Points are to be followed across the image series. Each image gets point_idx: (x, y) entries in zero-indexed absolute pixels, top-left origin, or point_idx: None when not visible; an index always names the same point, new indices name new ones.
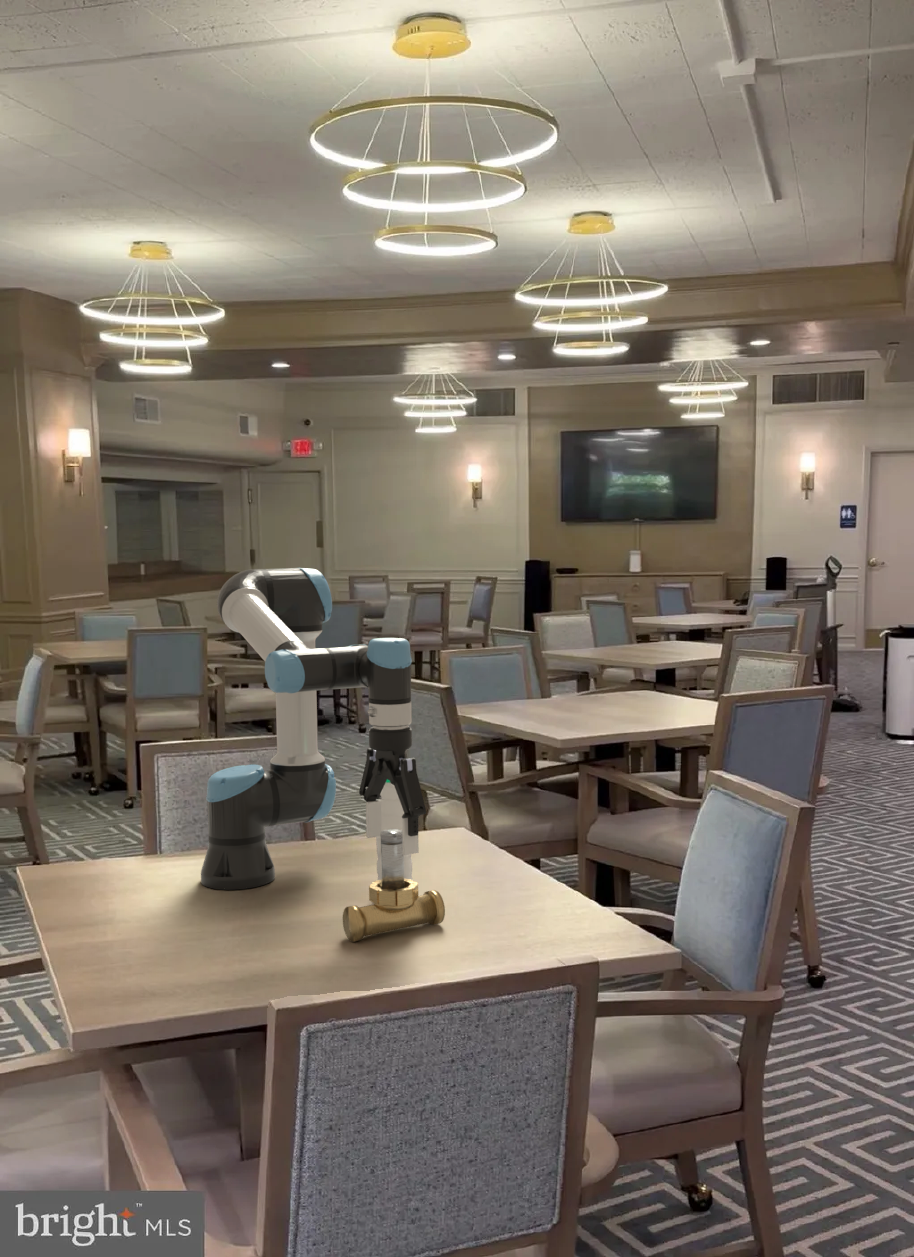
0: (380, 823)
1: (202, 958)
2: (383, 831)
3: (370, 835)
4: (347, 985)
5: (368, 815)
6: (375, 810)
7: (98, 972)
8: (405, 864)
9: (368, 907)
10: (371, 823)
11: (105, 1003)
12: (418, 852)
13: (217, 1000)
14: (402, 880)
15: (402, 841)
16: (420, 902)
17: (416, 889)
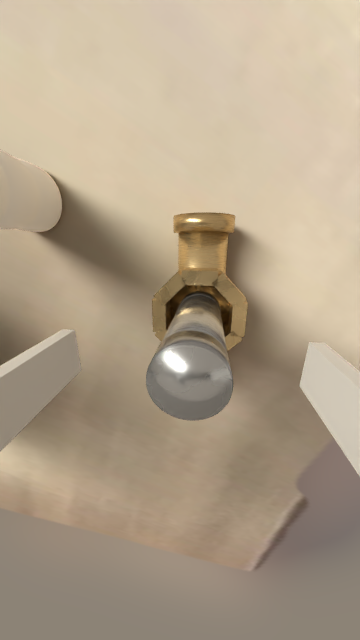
0: (47, 352)
1: (158, 475)
2: (163, 402)
3: (76, 367)
4: (324, 426)
5: (29, 421)
6: (6, 406)
7: (144, 528)
8: (13, 177)
9: None
10: (51, 387)
11: (212, 547)
12: (325, 343)
13: (265, 507)
14: (219, 313)
15: (225, 351)
16: (218, 262)
17: (231, 282)
